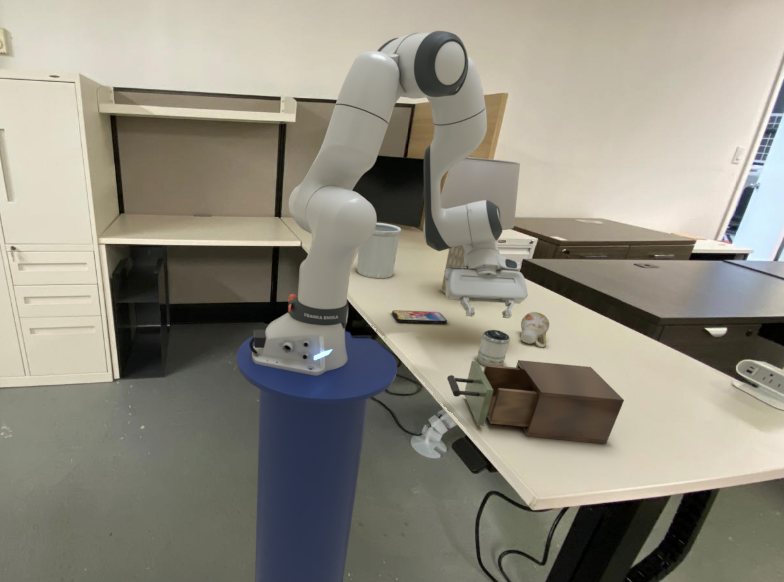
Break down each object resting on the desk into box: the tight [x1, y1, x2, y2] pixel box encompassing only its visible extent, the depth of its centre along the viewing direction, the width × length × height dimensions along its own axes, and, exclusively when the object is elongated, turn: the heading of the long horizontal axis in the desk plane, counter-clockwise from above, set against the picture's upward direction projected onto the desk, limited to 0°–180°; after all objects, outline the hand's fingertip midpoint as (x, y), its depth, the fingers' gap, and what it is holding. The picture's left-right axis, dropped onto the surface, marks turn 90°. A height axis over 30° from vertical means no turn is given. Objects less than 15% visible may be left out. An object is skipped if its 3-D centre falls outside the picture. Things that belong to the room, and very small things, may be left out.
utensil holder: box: [356, 222, 402, 279], centre depth 173 cm, size 15×15×18 cm
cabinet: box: [515, 359, 625, 445], centre depth 90 cm, size 15×13×10 cm
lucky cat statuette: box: [520, 311, 550, 348], centre depth 128 cm, size 8×10×10 cm
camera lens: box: [477, 329, 511, 367], centre depth 112 cm, size 6×6×8 cm
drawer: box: [446, 360, 538, 427], centre depth 90 cm, size 18×11×8 cm, turn 87°
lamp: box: [440, 156, 521, 295], centre depth 152 cm, size 25×25×44 cm
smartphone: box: [391, 309, 448, 325], centre depth 137 cm, size 7×1×15 cm
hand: (489, 316), depth 115 cm, fingers open, 8 cm apart
